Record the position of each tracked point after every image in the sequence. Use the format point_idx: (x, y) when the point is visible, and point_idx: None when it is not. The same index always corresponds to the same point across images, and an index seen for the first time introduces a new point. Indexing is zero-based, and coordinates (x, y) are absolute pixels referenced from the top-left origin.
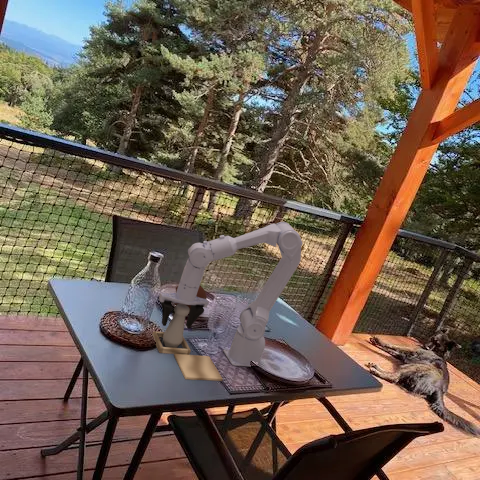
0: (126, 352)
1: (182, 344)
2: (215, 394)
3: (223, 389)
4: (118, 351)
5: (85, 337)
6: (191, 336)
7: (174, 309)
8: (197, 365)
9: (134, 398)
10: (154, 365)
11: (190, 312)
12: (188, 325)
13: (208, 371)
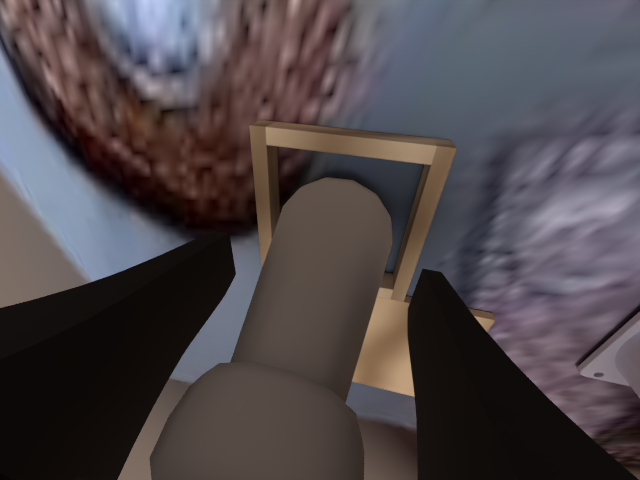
0: (155, 246)
1: (408, 224)
2: (376, 412)
3: (414, 411)
4: (130, 239)
5: (4, 152)
6: (577, 107)
7: (187, 392)
8: (387, 348)
9: (190, 372)
10: (241, 310)
11: (458, 394)
12: (410, 323)
13: (411, 374)
